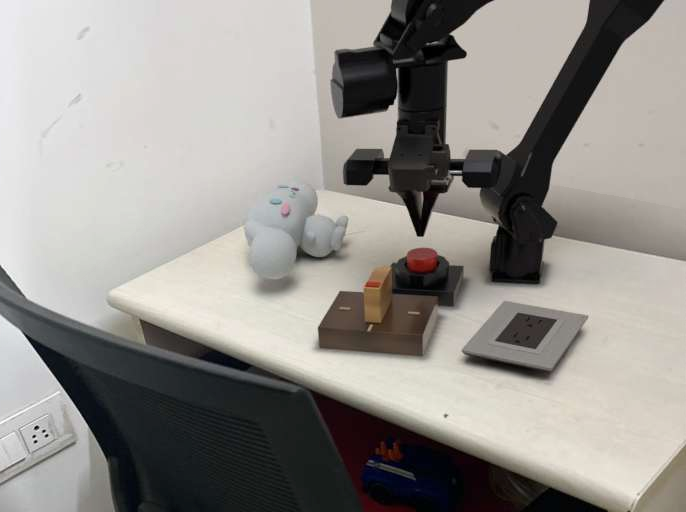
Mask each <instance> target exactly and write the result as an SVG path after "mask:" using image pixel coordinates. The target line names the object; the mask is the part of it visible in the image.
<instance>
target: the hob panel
mask: <svg viewBox="0 0 686 512" xmlns="http://www.w3.org/2000/svg"><path fill="white" fill-rule="evenodd" d="M438 318H439V306H438V296H421V295H403V294H392V302H391V304H390V306H389V308H388V310H387V312H386V314H385V316H384V318H383V320H382V322H381V323H373V322H365V310H364V291H352V290H351V291H350V290H340V291H338V294H337V295H336V296H335V298H334V300H333V302H332V303H331V304H330V306H329V308H328V310H327V311H326V313H325V315H324V316H323V318H322V319H321V321H320V323H319V324H318V326H317V334H318V345H319V349H324V350H335V351H346V352H347V351H349V352H360V353H361V352H362V353H374V354H385V355H397V356H399V355H400V356H411V357H423V356H424V354H425V351H426V349H427V346H428V344H429V342H430V338H431V336H432V334H433V331H434V328H435V325H436V323H437V320H438Z"/></svg>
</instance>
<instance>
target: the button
mask: <svg viewBox="0 0 686 512" xmlns="http://www.w3.org/2000/svg"><path fill="white" fill-rule="evenodd" d="M437 255H438V252H437V250H436V249H433V248H430V247H417V248H413V249H410V250H409V251H408V252H406V256H407V268H408V269H409V270H412V271H420V272H424V271H429V270H433V269H435V268H436V267H437Z"/></svg>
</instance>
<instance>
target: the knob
mask: <svg viewBox="0 0 686 512" xmlns="http://www.w3.org/2000/svg"><path fill="white" fill-rule="evenodd" d="M363 292H364V310H365V322H373V323H381V322H382V320H383V318H384V316H385V314H386V312H387V310H388V308H389V306H390V304H391V302H392V267H390V266H380V265H376V266H375V267H374V268H373V270H372V273H371V274H370V276H369V278H368V279H367V281H366V282H365V284H364V285H363Z"/></svg>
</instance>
